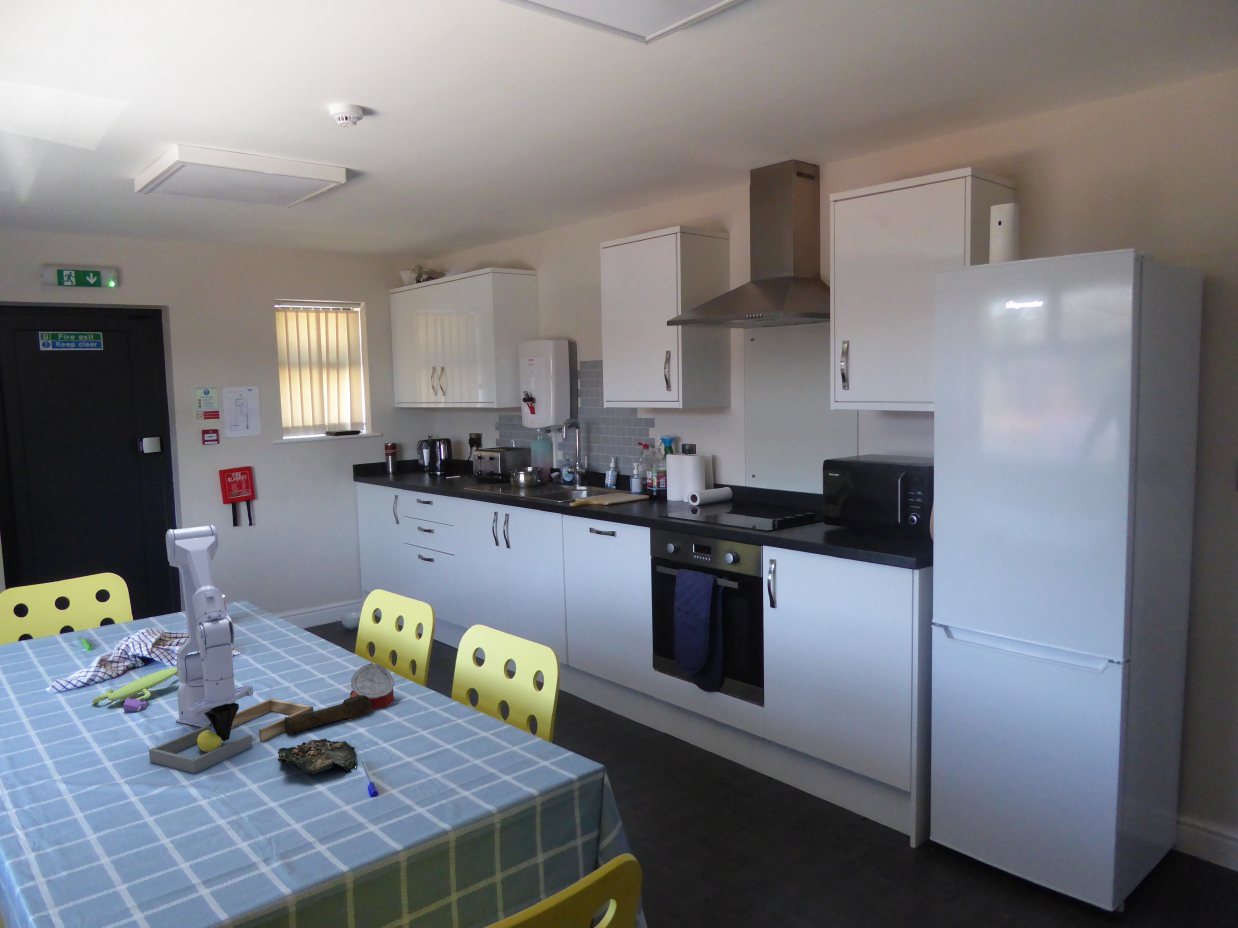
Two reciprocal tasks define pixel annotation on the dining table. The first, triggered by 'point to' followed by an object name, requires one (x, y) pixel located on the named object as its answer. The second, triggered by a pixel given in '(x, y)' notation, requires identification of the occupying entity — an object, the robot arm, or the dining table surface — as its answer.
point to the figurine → (137, 690)
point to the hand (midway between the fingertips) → (223, 739)
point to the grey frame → (168, 758)
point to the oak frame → (267, 707)
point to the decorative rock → (319, 755)
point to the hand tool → (329, 714)
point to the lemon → (208, 741)
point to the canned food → (373, 685)
